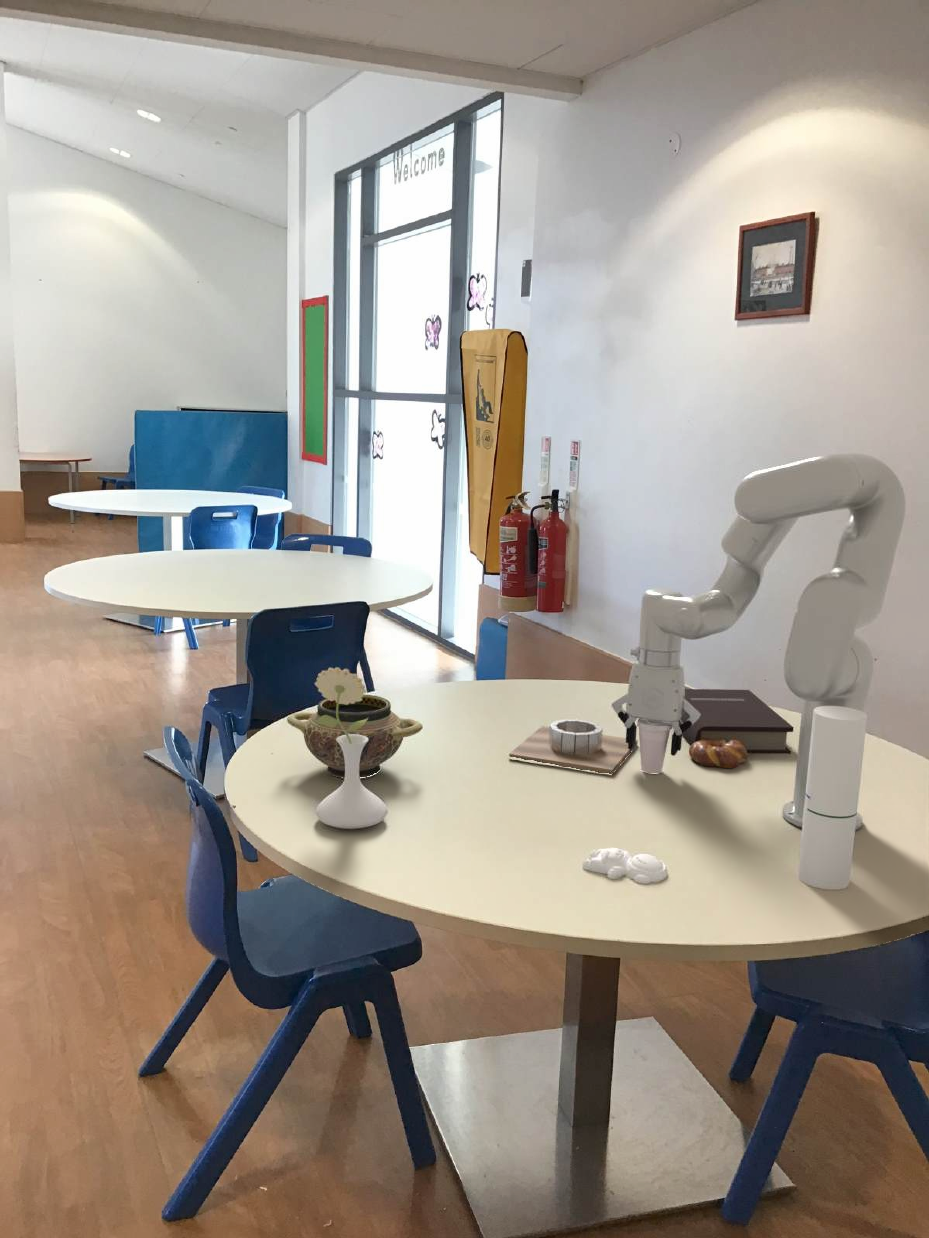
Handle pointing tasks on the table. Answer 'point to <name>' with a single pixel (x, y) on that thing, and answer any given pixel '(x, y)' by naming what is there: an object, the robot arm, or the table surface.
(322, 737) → the ceramic bowl
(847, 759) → the cylindrical container
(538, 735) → the walnut board
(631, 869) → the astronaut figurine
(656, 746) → the smoothie
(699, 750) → the pretzel
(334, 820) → the flower in vase
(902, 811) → the table surface
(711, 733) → the book
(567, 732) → the steel sleeve
